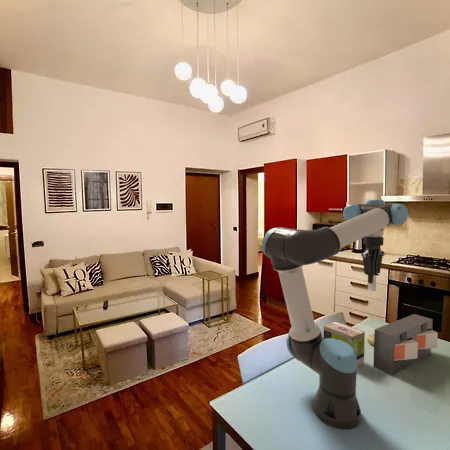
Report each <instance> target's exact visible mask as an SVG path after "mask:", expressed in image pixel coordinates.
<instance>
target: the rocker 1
mask: <svg viewBox="0 0 450 450" xmlns="http://www.w3.org/2000/svg"><path fill="white" fill-rule="evenodd" d="M417 354H418V342H416V341H414V340H405V341H402V342H400V343H398V344H396V345H394V361H397V360H407V359H416V358H417Z"/></svg>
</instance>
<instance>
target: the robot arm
mask: <svg viewBox="0 0 450 450" xmlns="http://www.w3.org/2000/svg"><path fill="white" fill-rule="evenodd" d="M408 212H409V210H408V208H407V207H406V205H405V204H403V203H395V202H394V203H385V200H383V199H366V200H365V201H364V203H360V204H359V203H352V204H348V205H346V206H345V207H344V209H343V213H342V215H343V218H344V220H345V221H343V222H340V223H338V224H336V225H333V226H331V227H328V226H323V227H321V228H320V227H319V228H317V229H298V228H297V229H295V228H288V227H284V226H281V227H273V228H271V229H269V230H268V231H267V232H266V233H265V235H264V237H263V238H262V242H261V249H262V253H263V254H264V255H265V256H266V257H267V259H270V262H271V267H272V269H273V271H276V272H278V276H279V280H280V285H281V289H282V293H283V297H284V302H285V306H286V309H287V314H288V317H289V321H290V325H291V327H290V329H289V330H288V334H287V338H286V341H285V343H286V348H287V351H288V352H289V354H290V355H291V356H293V358H294V359H296V360H297V361H298V362H301V363H302V364H303V365H304V366H306V367H308V368H309V369H311V370H312V371H313V372H315V373H316V374H317V375H319V378H318V380H319V381H318V382H319V383H318V385H319V386H318V389H317V391H316V394H315V396H314V399H313V411H314V414H315V415H316V416H317V418H318V419H319V420H320V421H322V422H323V423H324V424H327V425H328V426H331V427H333V428H337V429H343V430H348V429H349V430H350V429H353V428H356V427H357V426H359V425H360V423H361V420H362V410H361V407H360V404H359V401H358V396H357V375H358V373H357V371H358V369H357V368H358V367H357V357H356V353H355V351H354V349H353V348H352V347H351V346H350V345H349V344H347V343H345V342H343V341H341V340H336V339H333V338H327V339H324V336H323V335H322V331H321V327H320V326H319V325H318V324H317V323H316V322H315V319H314V314H313V309H312V306H311V303H310V302H311V301H310V297H309V292H308V288H307V284H306V280H305V275H304V272H303V271H304V270H303V267H304V266H308V265H312V264H316V263H320V262H322V261H325V260H327V259H330V258H332V257H334V256H336V255H337V254H339V253H340V251H341V249H343V248H344V247H347V246H349V245H351V244H354V243H355V242H357V241H359V240H362V239H363V245H364V246H365V251H364V252H361V257H362V261H363V262H362V264H363V272H364V274H365V275H366V276H367V290H368V291H371V292H375V291H377V277H378V276H380V274H381V269H382V264H383V258H384V257H383V256H384V254H385V252H384V251H383V250H382V249H381V247H382V246H383V245H384V233H385V232H384V231H385V228H386V227H390V226H392V225H393V226H398V225H400V226H401V225H404V224H405V223H407V221H408V220H407V219H408V217H409V213H408Z"/></svg>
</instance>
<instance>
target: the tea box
mask: <svg viewBox="0 0 450 450" xmlns="http://www.w3.org/2000/svg"><path fill="white" fill-rule="evenodd" d="M365 337H366V332H365V331H364V330H362V329H358V328H356V327H354V326H353V327H352V326H351V325H347V324H344V323H342V322H338V321H333V322H332V323H331V322H330V323H328V324H326V325H323V339H327V338H333V339H336V340H341V341H343V342H345V343H347V344H349V345H350V346H351V347H352V348H353V349H354V351H355V353H356V357H357V368H358V367H360V366H362V365H363V364H364V363H365V344H366V343H365V341H366V340H365Z"/></svg>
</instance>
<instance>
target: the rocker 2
mask: <svg viewBox="0 0 450 450" xmlns="http://www.w3.org/2000/svg"><path fill="white" fill-rule="evenodd" d="M438 335H439V333H438V332H437V331H435V330H433V329H432V330H431V331H424V332H422V333H420V334H417V335H416V342H418V349H427V348H431V349H434V348H438V337H439V336H438Z"/></svg>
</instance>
